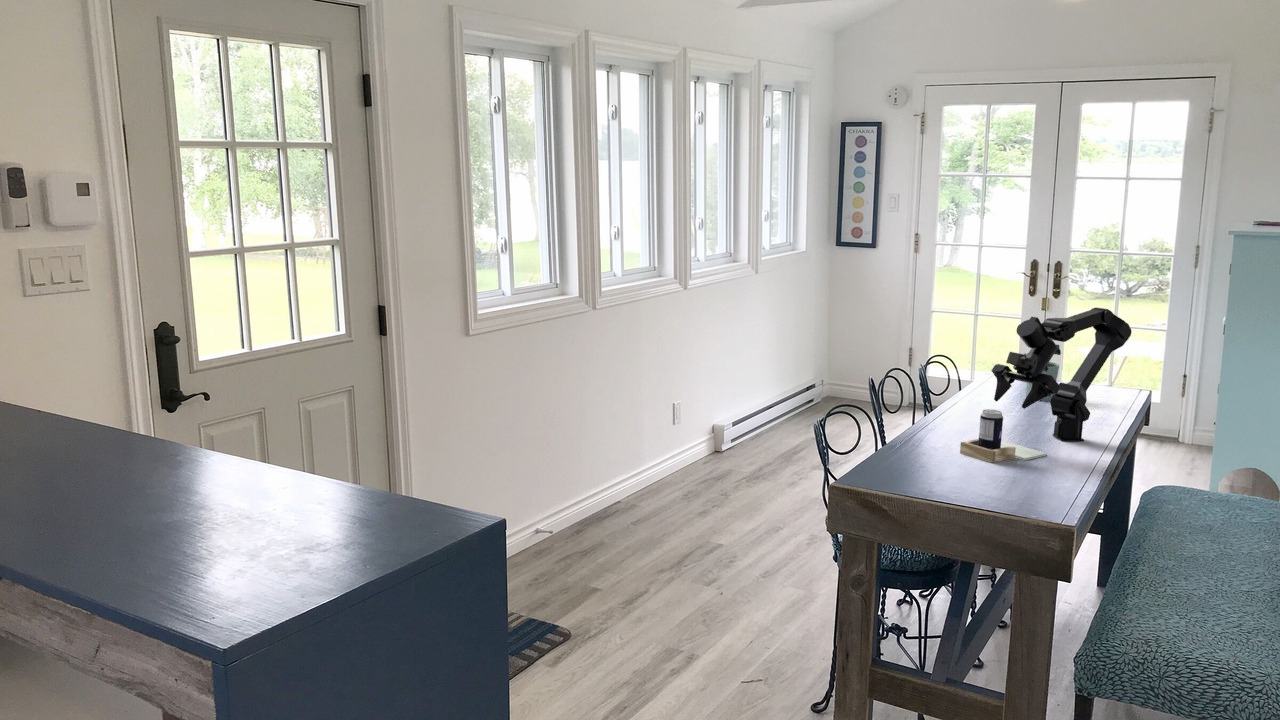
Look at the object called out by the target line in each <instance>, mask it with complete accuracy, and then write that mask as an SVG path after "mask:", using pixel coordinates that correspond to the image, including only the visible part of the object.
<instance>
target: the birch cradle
mask: <svg viewBox="0 0 1280 720" xmlns="http://www.w3.org/2000/svg"><path fill="white" fill-rule="evenodd" d="M978 441H979V438H976V439H971V440H965V441H961V442H960V445H959V446H960V448H959V454H961V455H966V456H969V457H971V458H975V459H978V460H981V461H984V460H985V462H987V461H988V463H990V462H993V463H997V462H996V461H998V462H1002V461H1001V460H1003V461H1006V459H1007V460H1012V459H1015V450H1016V447H1014V446H1009V447H1004V448H999V449H994V450H990V449H987V448H983V447H980V446H978ZM1011 458H1012V459H1011Z"/></svg>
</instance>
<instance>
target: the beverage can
mask: <svg viewBox="0 0 1280 720" xmlns="http://www.w3.org/2000/svg"><path fill="white" fill-rule="evenodd" d="M979 419H980V420H979V432H978V433H979V434H978V439H979V441H978V446H980V447H983V448H987V449H990V450H994V449H999V448H1001V441H1002V435H1003V424H1004V423H1003V422H1004V416H1003V412H1002V411H1001V410H998V409H997V410H996V409H983V410H982V412H981V414H980V416H979Z"/></svg>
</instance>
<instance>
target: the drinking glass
mask: <svg viewBox="0 0 1280 720" xmlns="http://www.w3.org/2000/svg"><path fill="white" fill-rule="evenodd" d="M1047 367H1048V368H1049V369H1048V370H1047V371H1043V372H1042V374H1047V375H1051V376H1052V377H1053V378H1054V379H1055V380H1056V381H1057V379H1058V375H1059V369H1060V364H1058V363H1056V362H1052V361H1049V363H1048V364H1047ZM1025 383H1026V385H1025V386H1026V388H1025V398H1026V397H1027V395H1028V394H1029V392H1030V390H1031V389H1032V384H1031V383H1027V382H1025ZM1052 396H1053V395H1052V394H1051V396H1047V397H1045V398H1043V399H1041V400H1042V401H1041V402H1050V400H1051V397H1052Z"/></svg>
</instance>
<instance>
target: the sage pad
mask: <svg viewBox="0 0 1280 720" xmlns="http://www.w3.org/2000/svg"><path fill="white" fill-rule="evenodd" d="M1009 446H1014V447H1016V450H1015V457H1016V459H1020V460H1022V459H1023V461H1028V460H1032V459H1037V458H1041V457H1042V456H1043V457H1047V456H1048V455H1047V454H1048V453H1046V452H1043V451H1040V450H1036V449H1032V448H1029V447H1026V446H1022V445H1018V444H1015V443H1011V442H1008V441H1005V440H1001V448H1004V447H1009Z"/></svg>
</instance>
